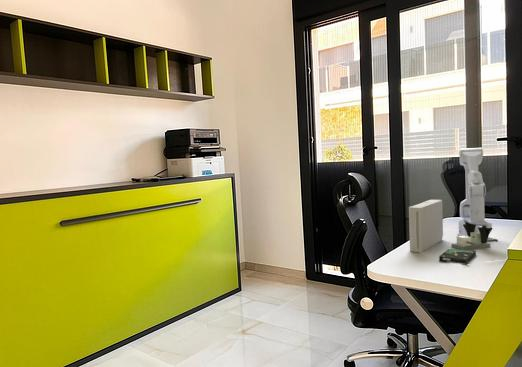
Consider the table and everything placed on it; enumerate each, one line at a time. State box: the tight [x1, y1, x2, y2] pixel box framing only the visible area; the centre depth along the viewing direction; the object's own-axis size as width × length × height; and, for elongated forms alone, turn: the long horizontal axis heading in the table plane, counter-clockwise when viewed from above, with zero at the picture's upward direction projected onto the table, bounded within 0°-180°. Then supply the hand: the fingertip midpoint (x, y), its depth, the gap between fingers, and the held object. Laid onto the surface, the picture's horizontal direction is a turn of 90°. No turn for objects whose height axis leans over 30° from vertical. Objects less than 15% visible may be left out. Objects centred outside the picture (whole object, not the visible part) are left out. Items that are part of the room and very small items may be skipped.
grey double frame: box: [451, 242, 491, 251], centre depth 177 cm, size 7×14×2 cm, turn 102°
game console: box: [408, 199, 444, 254], centre depth 185 cm, size 6×27×20 cm, turn 137°
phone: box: [487, 236, 499, 243], centre depth 187 cm, size 6×11×1 cm, turn 102°
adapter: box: [456, 235, 473, 246], centre depth 174 cm, size 7×4×5 cm, turn 12°
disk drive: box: [438, 247, 477, 266], centre depth 162 cm, size 10×3×15 cm
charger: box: [470, 232, 485, 245], centre depth 177 cm, size 4×4×6 cm
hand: (477, 241), depth 178 cm, fingers open, 7 cm apart
